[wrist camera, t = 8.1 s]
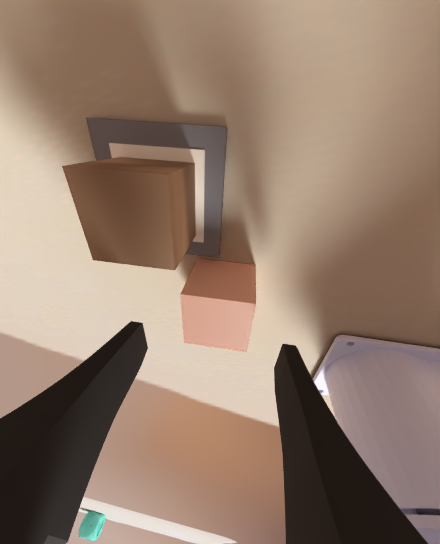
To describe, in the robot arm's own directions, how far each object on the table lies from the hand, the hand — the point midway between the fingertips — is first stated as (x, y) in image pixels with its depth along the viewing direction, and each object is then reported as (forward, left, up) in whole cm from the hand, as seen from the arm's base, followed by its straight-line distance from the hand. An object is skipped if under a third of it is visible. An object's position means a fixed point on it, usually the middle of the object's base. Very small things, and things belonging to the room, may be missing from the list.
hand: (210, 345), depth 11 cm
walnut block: (+4, -6, -5) cm, 9 cm away
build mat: (+4, -6, -5) cm, 9 cm away
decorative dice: (+54, +153, -6) cm, 162 cm away
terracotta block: (0, 0, -5) cm, 5 cm away
